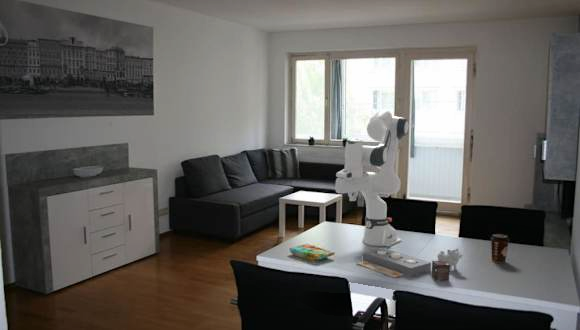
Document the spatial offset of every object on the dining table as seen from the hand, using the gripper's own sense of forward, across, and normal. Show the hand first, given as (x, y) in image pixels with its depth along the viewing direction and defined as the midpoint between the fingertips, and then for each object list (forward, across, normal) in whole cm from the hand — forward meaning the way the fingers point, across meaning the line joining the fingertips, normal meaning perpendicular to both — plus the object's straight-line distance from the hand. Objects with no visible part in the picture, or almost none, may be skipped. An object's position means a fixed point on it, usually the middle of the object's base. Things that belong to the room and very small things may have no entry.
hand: (352, 200), depth 250 cm
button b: (+27, -10, +20) cm, 35 cm away
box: (+29, -12, +44) cm, 54 cm away
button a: (+28, -10, +11) cm, 31 cm away
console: (+29, -10, +20) cm, 37 cm away
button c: (+28, -10, +29) cm, 41 cm away
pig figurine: (+29, -27, +38) cm, 55 cm away
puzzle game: (+30, +14, -14) cm, 36 cm away
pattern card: (+29, +1, +20) cm, 35 cm away
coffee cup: (+29, -57, +45) cm, 78 cm away
